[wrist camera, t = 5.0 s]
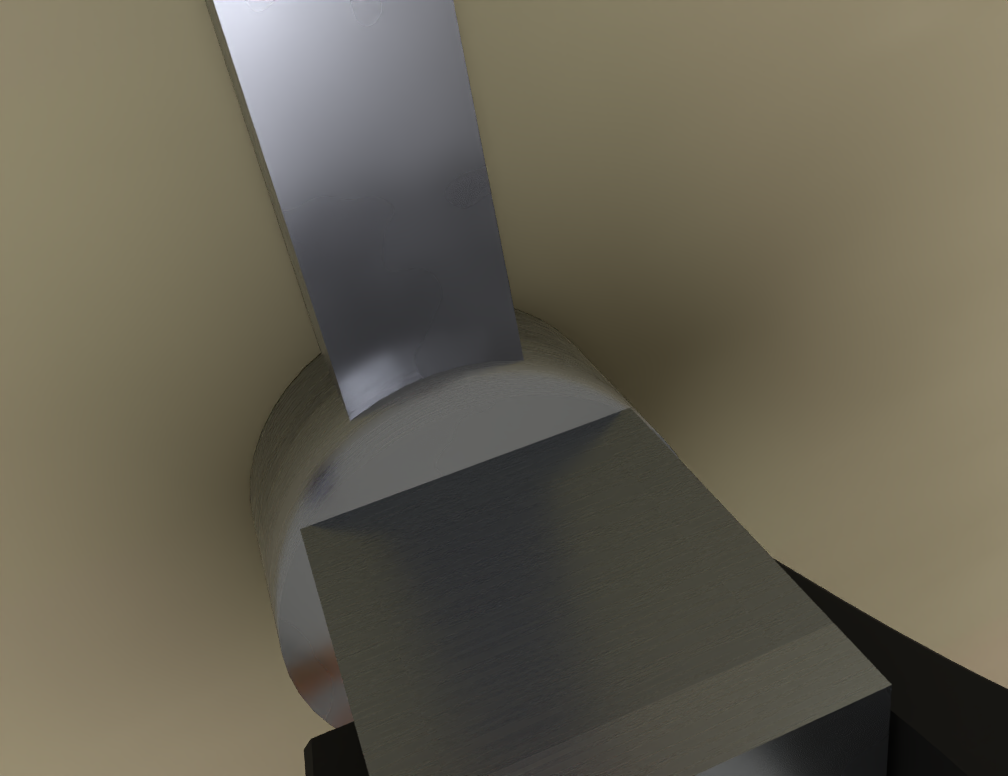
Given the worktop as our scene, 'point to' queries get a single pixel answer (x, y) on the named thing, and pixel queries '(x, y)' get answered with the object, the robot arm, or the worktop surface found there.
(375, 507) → the grey brushed cube
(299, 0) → the ratchet
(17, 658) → the worktop surface
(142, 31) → the worktop surface
